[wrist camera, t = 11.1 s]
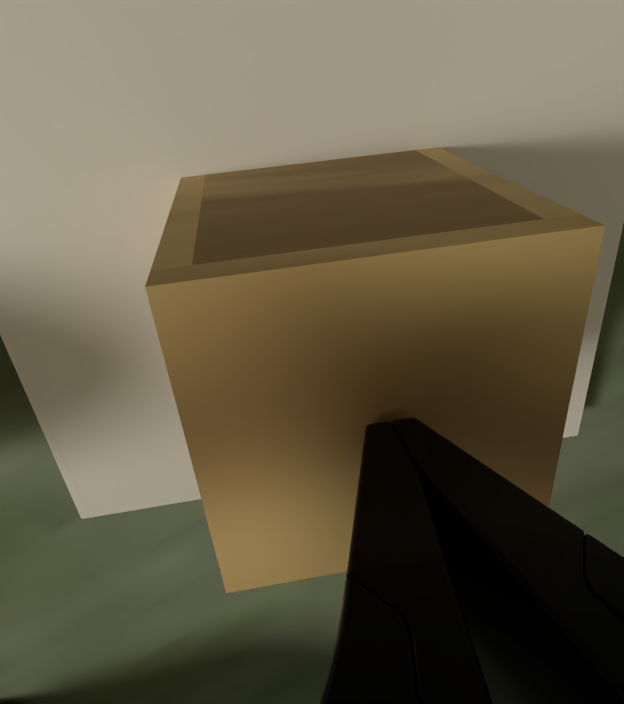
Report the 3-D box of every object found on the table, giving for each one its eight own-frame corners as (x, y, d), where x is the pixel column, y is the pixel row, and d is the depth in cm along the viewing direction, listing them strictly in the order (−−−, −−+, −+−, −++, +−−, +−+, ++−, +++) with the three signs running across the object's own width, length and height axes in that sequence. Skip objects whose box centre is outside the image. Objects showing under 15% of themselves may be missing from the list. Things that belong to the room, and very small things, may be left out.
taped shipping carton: (430, 363, 17) (542, 535, 11) (225, 394, 16) (226, 593, 10) (438, 147, 14) (605, 225, 8) (180, 177, 13) (144, 286, 7)
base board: (555, 411, 21) (676, 544, 15) (90, 488, 19) (37, 664, 14) (644, -68, 13) (948, -151, 8) (-110, -1, 12) (-407, -43, 6)
